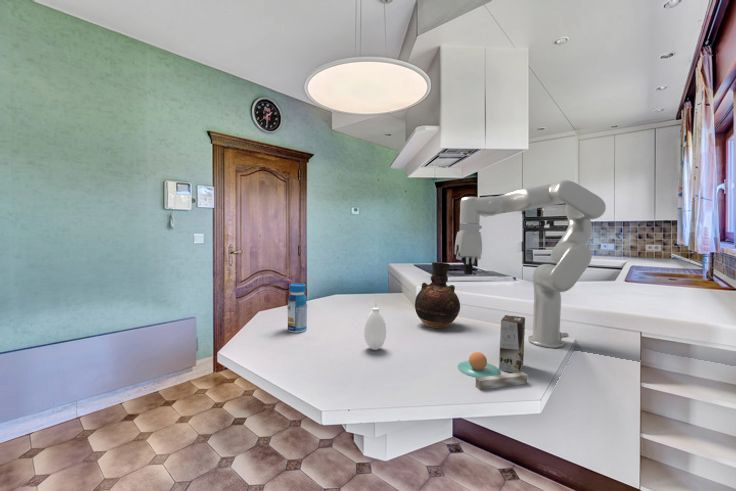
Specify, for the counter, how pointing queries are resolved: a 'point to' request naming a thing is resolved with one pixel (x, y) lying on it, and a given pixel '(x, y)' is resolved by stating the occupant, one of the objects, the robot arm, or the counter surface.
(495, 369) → the teal disc
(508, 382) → the strip
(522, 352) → the coffee box
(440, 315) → the ceramic vessel
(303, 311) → the beverage bottle
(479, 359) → the ball
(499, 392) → the counter surface
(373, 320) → the sauce bottle
